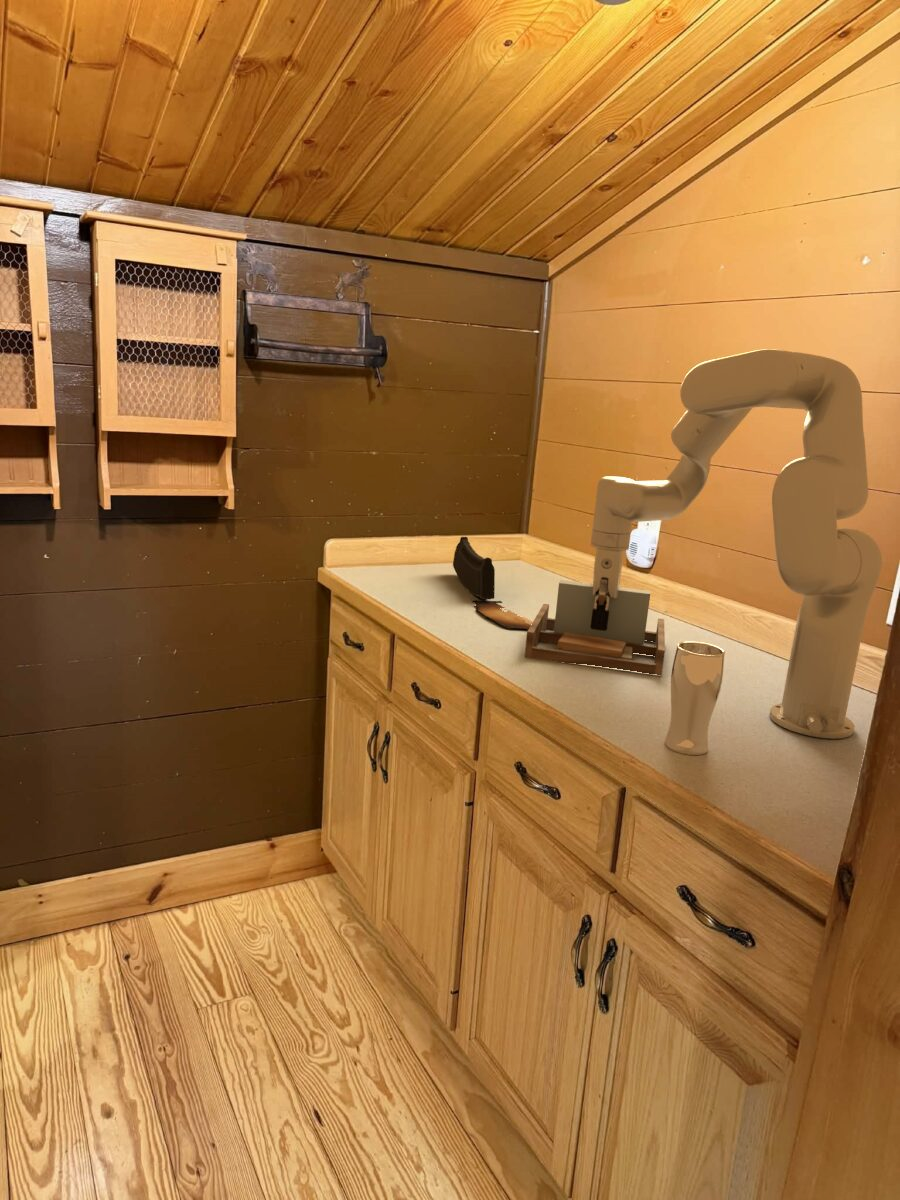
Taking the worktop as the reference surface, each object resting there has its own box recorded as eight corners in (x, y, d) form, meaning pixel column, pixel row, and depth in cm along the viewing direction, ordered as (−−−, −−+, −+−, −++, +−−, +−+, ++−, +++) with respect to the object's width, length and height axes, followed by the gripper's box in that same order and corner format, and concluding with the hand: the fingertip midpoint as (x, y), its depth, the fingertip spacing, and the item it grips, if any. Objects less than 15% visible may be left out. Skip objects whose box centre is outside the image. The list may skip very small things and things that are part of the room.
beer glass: (686, 734, 126) (701, 639, 123) (721, 753, 121) (737, 653, 117) (651, 740, 123) (665, 643, 120) (685, 759, 117) (700, 657, 114)
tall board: (642, 652, 167) (650, 594, 165) (552, 640, 171) (559, 582, 168) (642, 648, 170) (650, 590, 167) (554, 636, 174) (560, 580, 171)
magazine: (500, 568, 192) (472, 512, 217) (486, 568, 192) (460, 511, 217) (488, 631, 201) (463, 569, 226) (475, 631, 200) (451, 569, 225)
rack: (661, 676, 153) (665, 650, 152) (524, 657, 158) (527, 631, 157) (660, 642, 175) (664, 619, 174) (541, 626, 181) (543, 603, 179)
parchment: (545, 632, 177) (546, 628, 177) (503, 632, 174) (503, 628, 174) (500, 603, 200) (501, 600, 200) (462, 603, 197) (462, 599, 196)
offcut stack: (630, 671, 156) (632, 653, 155) (554, 660, 159) (556, 642, 159) (632, 659, 164) (635, 641, 163) (560, 648, 167) (562, 631, 166)
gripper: (628, 549, 157) (616, 637, 161) (631, 535, 173) (620, 616, 177) (587, 544, 158) (577, 632, 162) (594, 531, 175) (585, 611, 179)
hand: (600, 623), depth 170 cm, fingers open, 9 cm apart
